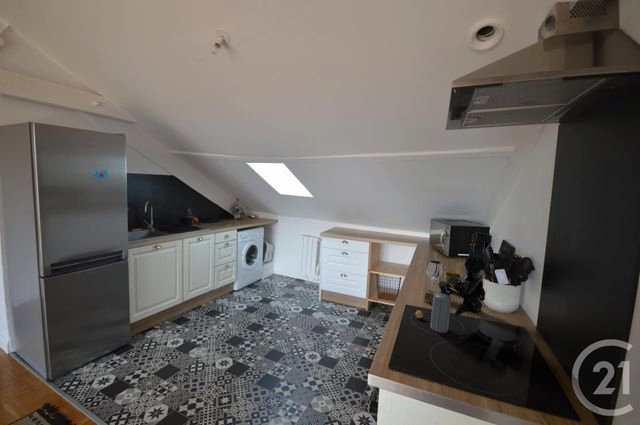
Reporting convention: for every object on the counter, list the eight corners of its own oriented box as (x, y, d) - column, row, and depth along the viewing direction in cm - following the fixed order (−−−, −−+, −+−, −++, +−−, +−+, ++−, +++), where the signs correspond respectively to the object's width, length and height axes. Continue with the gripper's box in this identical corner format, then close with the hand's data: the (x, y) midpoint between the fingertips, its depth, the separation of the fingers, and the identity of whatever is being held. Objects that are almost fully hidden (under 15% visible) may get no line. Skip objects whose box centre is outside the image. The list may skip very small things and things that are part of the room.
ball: (424, 318, 124) (424, 311, 124) (419, 320, 122) (420, 313, 122) (417, 315, 127) (418, 308, 126) (413, 317, 125) (414, 310, 124)
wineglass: (433, 298, 147) (437, 265, 145) (420, 292, 154) (424, 260, 152) (443, 295, 152) (446, 263, 150) (429, 290, 159) (433, 259, 156)
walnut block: (436, 301, 144) (437, 292, 143) (434, 304, 140) (435, 295, 139) (426, 298, 146) (427, 289, 146) (424, 302, 142) (425, 292, 142)
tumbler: (450, 329, 116) (454, 297, 114) (442, 334, 112) (446, 301, 110) (435, 323, 121) (439, 292, 119) (427, 327, 117) (431, 295, 115)
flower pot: (461, 294, 155) (463, 278, 154) (444, 291, 158) (446, 276, 157) (459, 288, 163) (460, 274, 162) (442, 286, 166) (444, 271, 165)
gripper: (443, 263, 125) (421, 289, 122) (480, 277, 108) (456, 308, 105) (454, 278, 129) (433, 304, 126) (492, 295, 112) (468, 325, 109)
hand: (446, 309), depth 117 cm, fingers open, 9 cm apart
